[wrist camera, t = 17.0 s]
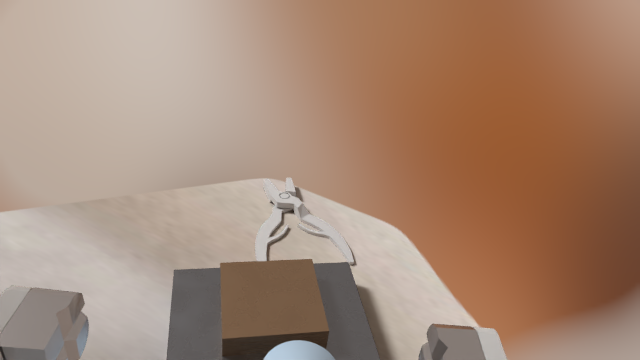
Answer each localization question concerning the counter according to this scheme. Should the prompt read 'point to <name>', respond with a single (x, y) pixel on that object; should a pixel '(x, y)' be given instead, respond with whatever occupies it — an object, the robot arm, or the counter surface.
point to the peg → (298, 351)
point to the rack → (267, 311)
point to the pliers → (291, 202)
